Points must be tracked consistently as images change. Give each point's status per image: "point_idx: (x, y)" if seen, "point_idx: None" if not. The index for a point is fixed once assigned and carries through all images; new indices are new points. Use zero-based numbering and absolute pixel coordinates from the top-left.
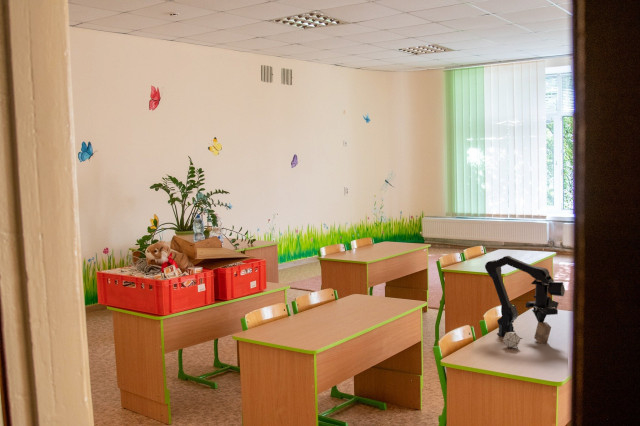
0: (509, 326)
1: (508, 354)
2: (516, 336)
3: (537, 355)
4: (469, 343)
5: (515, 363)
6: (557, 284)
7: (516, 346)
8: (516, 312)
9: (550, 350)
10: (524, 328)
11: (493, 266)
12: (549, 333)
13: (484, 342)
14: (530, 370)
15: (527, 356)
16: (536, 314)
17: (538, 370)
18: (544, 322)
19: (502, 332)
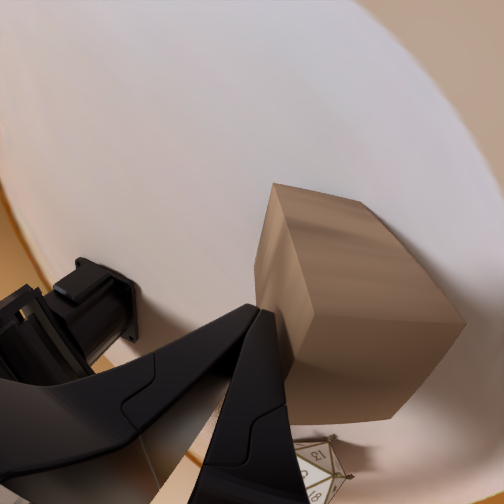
0: (91, 346)
1: (363, 480)
2: (328, 499)
3: (454, 437)
4: (198, 459)
5: (424, 495)
6: None
7: (330, 446)
8: (6, 378)
9: (481, 349)
10: (29, 83)
11: None
12: (411, 259)
13: (198, 437)
14: (474, 491)
15: (427, 462)
16: (151, 497)
17: (490, 482)
18: (308, 353)
19: (111, 343)
